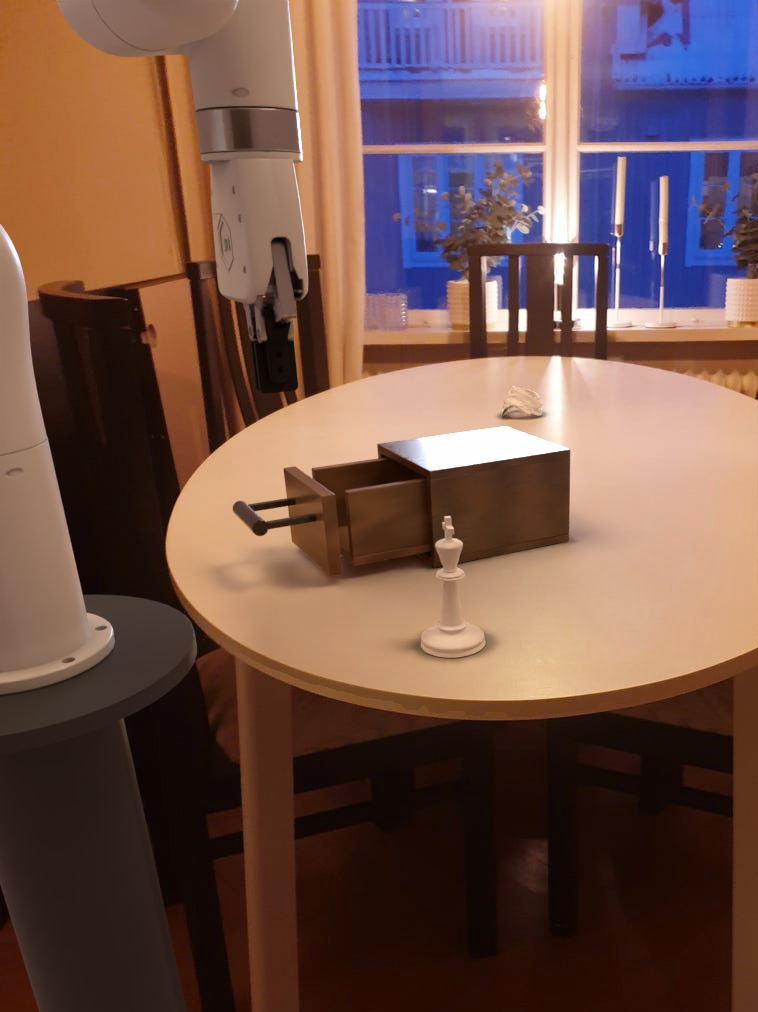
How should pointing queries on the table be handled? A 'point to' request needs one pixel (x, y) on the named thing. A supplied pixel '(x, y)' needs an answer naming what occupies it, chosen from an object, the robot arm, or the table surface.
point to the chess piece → (451, 606)
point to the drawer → (350, 512)
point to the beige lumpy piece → (522, 401)
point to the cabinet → (490, 489)
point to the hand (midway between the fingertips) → (277, 390)
